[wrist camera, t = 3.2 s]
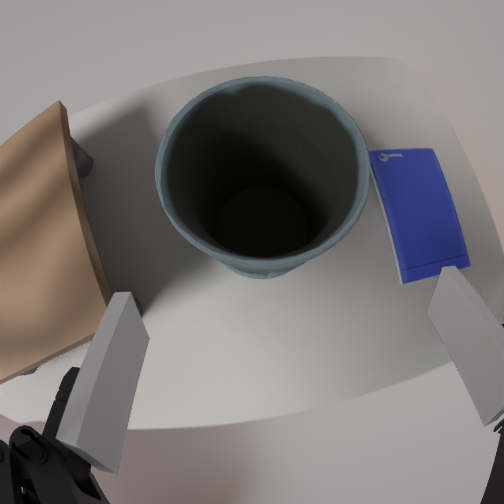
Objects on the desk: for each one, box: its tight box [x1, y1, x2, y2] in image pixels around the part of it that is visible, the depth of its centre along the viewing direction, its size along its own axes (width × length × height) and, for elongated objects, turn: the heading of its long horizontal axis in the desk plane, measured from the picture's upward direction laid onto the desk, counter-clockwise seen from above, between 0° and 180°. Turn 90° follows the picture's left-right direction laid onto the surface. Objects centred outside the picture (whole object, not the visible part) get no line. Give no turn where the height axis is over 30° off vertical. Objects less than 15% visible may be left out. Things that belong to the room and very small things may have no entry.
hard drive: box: [368, 148, 470, 285], centre depth 24 cm, size 2×8×12 cm
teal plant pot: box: [155, 76, 370, 279], centre depth 19 cm, size 10×10×12 cm
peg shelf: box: [0, 101, 142, 384], centre depth 20 cm, size 20×18×8 cm
